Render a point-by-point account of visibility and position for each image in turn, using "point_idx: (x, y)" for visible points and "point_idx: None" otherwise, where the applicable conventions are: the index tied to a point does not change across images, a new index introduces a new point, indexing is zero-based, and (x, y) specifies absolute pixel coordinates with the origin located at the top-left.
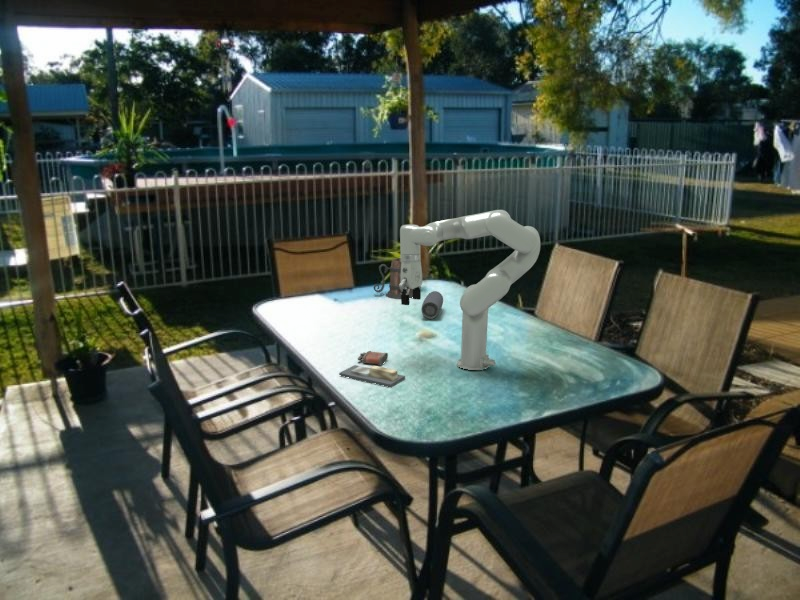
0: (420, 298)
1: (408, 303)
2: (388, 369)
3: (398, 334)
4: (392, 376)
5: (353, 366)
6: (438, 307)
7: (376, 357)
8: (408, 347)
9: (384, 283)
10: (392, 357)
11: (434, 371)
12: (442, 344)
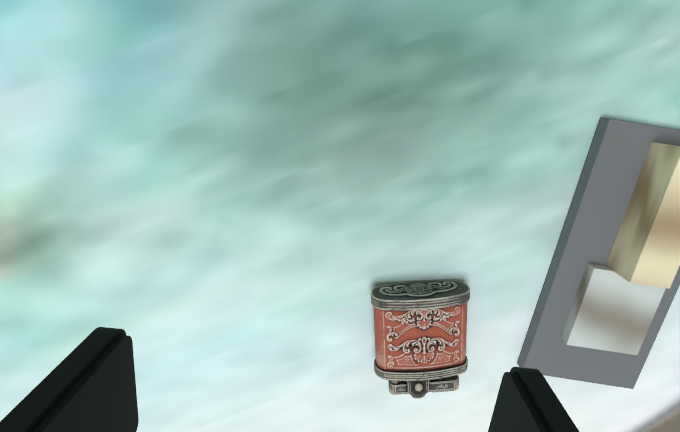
0: (102, 331)
1: (546, 389)
2: (676, 196)
3: (16, 362)
4: None
5: (541, 369)
6: None
7: (451, 321)
8: (163, 260)
9: None
10: (329, 276)
11: (449, 13)
12: (26, 120)
